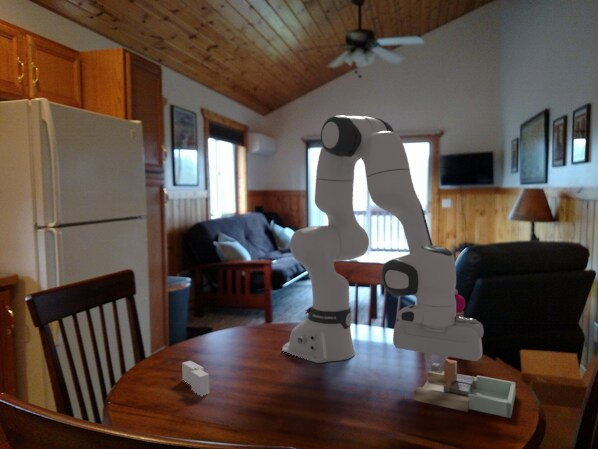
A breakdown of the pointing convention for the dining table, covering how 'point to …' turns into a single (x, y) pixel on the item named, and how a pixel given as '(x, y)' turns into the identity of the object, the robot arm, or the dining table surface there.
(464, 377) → the dark grey block
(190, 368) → the white stepped block
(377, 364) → the dining table surface
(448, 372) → the block
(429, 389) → the slot board
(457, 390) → the chip
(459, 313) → the pepper mill
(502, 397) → the tray
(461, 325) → the robot arm
